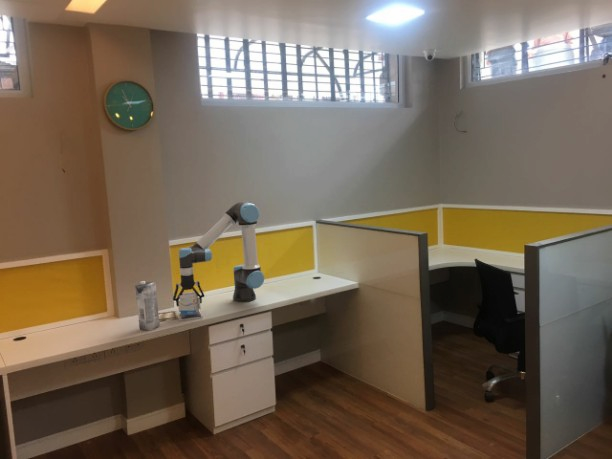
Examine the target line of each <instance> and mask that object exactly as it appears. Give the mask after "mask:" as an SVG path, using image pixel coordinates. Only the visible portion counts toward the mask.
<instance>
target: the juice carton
mask: <svg viewBox="0 0 612 459" xmlns="http://www.w3.org/2000/svg"><path fill="white" fill-rule="evenodd" d="M134 288H135V294H136V304H137V305H136V306H137V316H138V317H137V318H138V324H139V325H138V326H139V330H140V331H146V332H147V331H152V330H154V329H156V328H159V327H160V322H159V313H160V312H159V304H158V295H157V294H158V293H157V282H154V281H153V282H152V281H145V280H143V281H139V284H136V285H135V286H134Z"/></svg>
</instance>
